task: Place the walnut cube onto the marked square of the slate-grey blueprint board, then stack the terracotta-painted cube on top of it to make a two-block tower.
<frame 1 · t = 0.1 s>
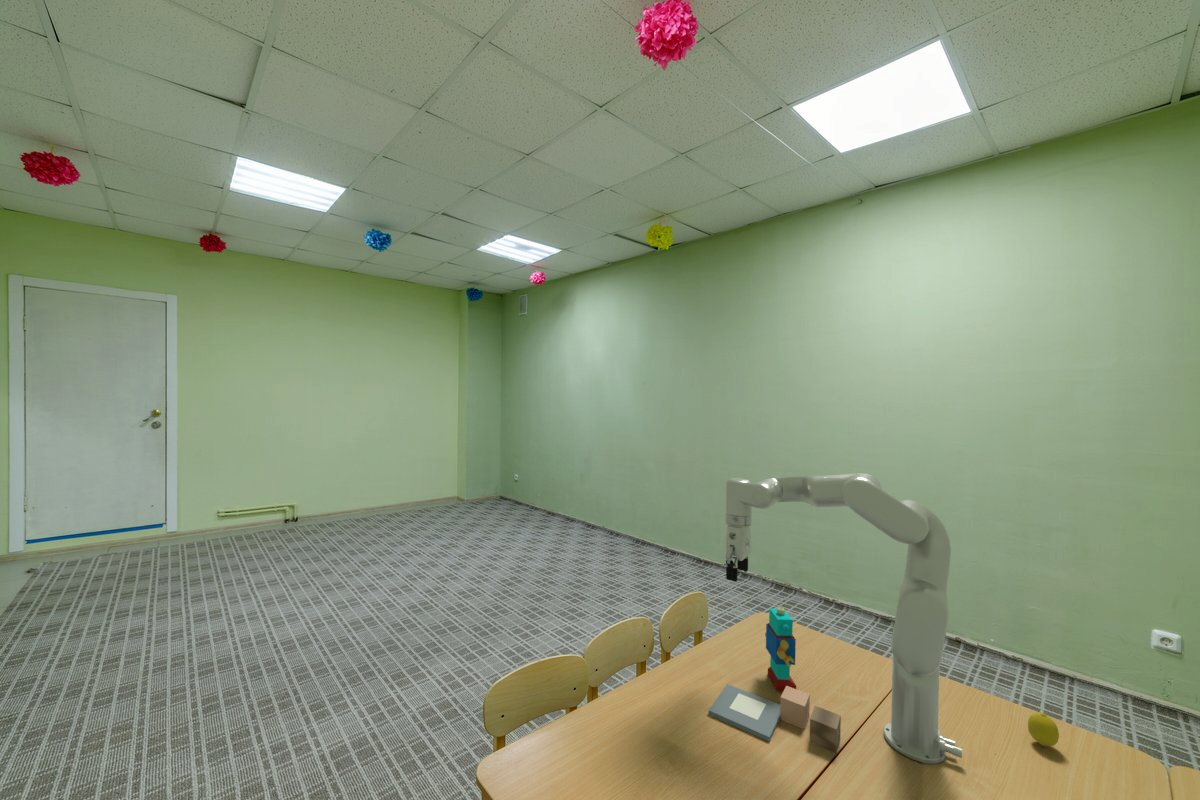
hand: (737, 575, 138), 31 cm above the table, fingers open, 9 cm apart
lemon: (1042, 746, 113), on the table
toy robot: (780, 683, 136), on the table
walnut block: (824, 740, 113), on the table
terracotta block: (794, 717, 121), on the table
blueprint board: (746, 712, 123), on the table
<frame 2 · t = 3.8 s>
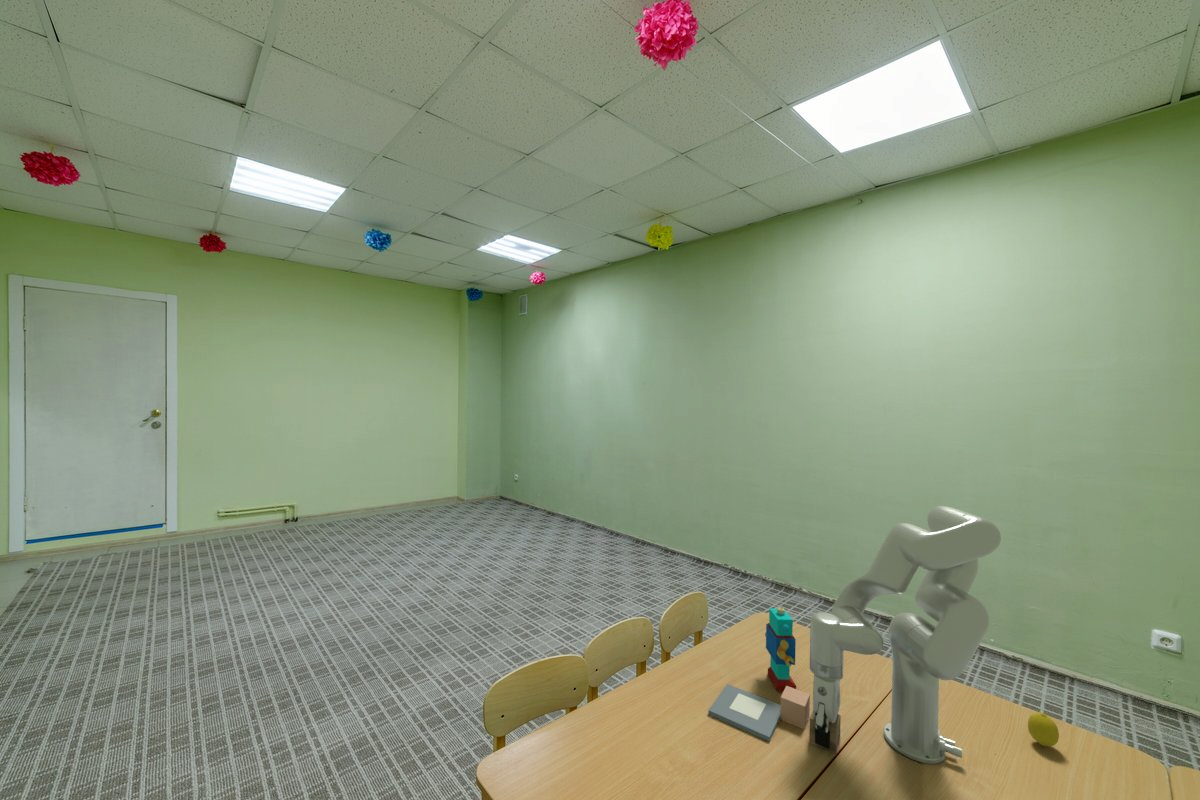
hand: (824, 736, 113), 1 cm above the table, fingers closed on walnut block, 6 cm apart
walnut block: (824, 740, 113), on the table, touching gripper
everything else where it was.
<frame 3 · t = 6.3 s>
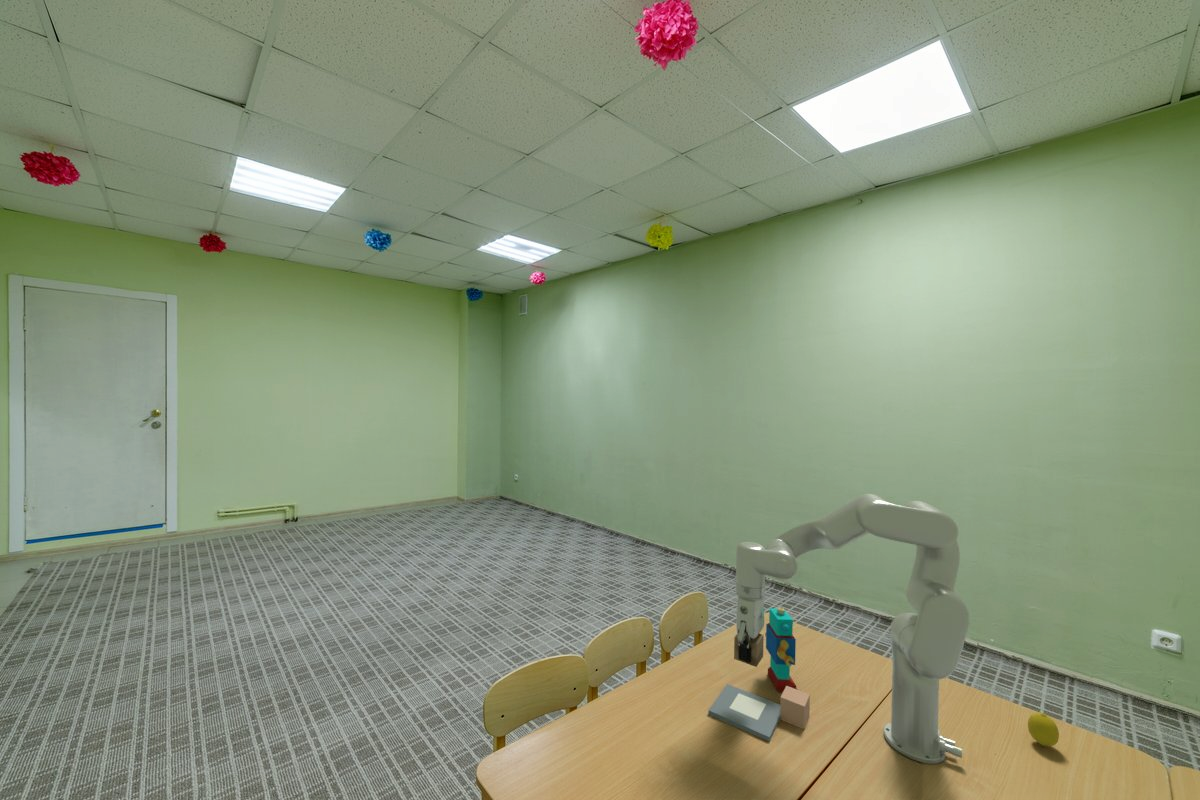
hand: (748, 654, 123), 15 cm above the table, fingers closed on walnut block, 6 cm apart
walnut block: (748, 657, 123), point 15 cm above the table, touching gripper
everything else where it was.
when the fingers open (3 cm above the table, at t = 9.0 s): walnut block stays where it is, resting on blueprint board.
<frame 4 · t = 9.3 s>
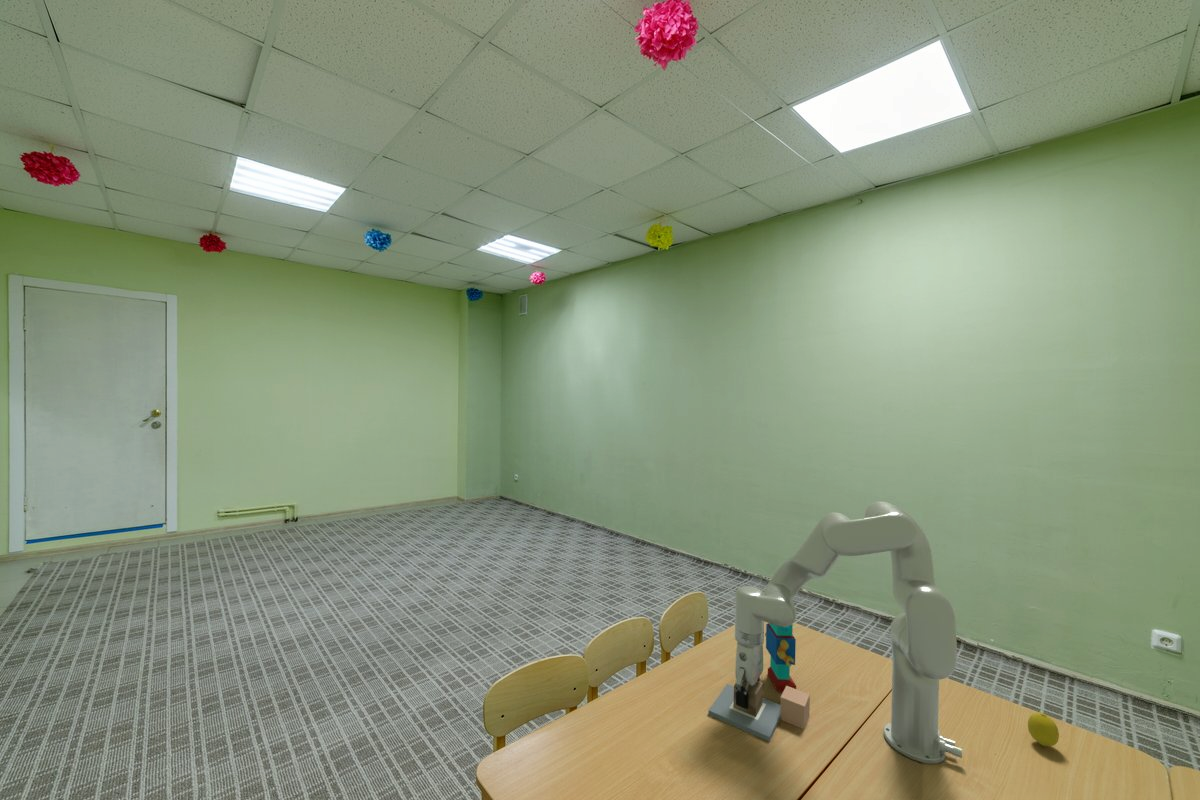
hand: (747, 697, 124), 4 cm above the table, fingers open, 9 cm apart
walnut block: (748, 706, 124), point 1 cm above the table, touching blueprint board
everything else where it was.
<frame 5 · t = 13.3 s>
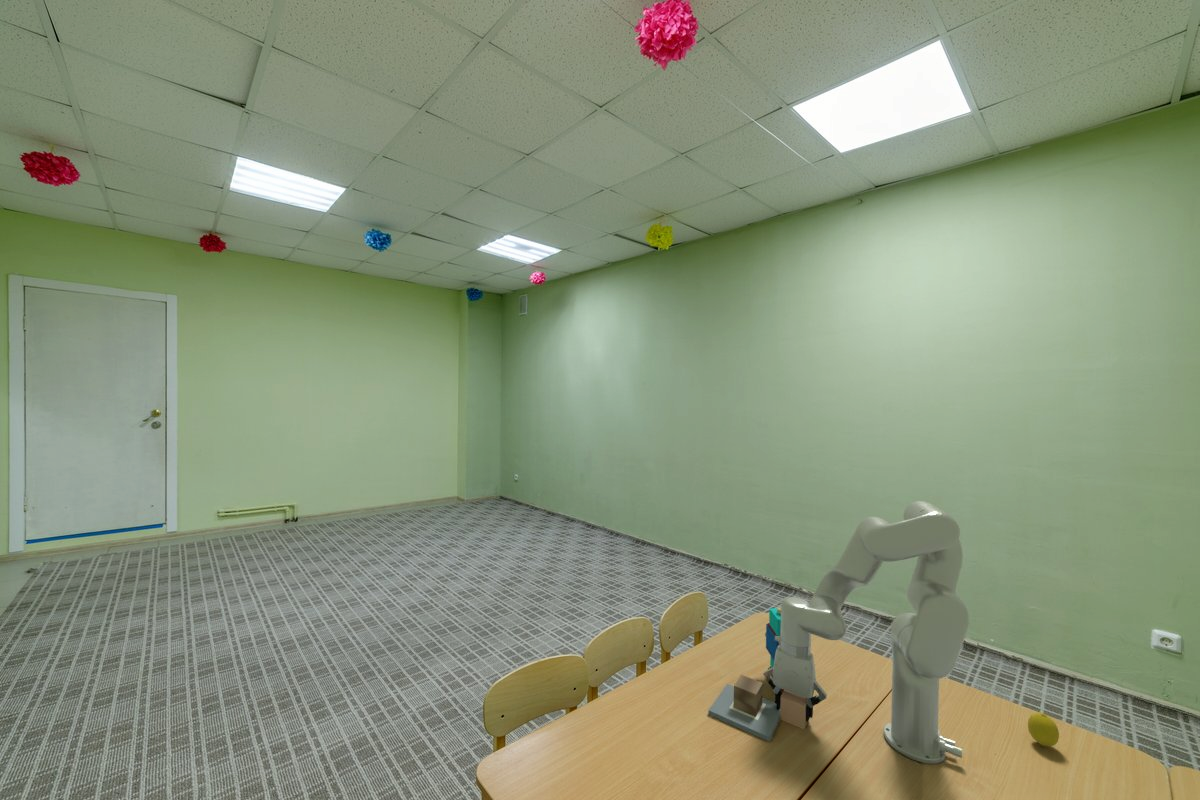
hand: (793, 712, 121), 1 cm above the table, fingers open, 6 cm apart
terracotta block: (794, 717, 121), on the table, touching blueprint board, gripper
everything else where it was.
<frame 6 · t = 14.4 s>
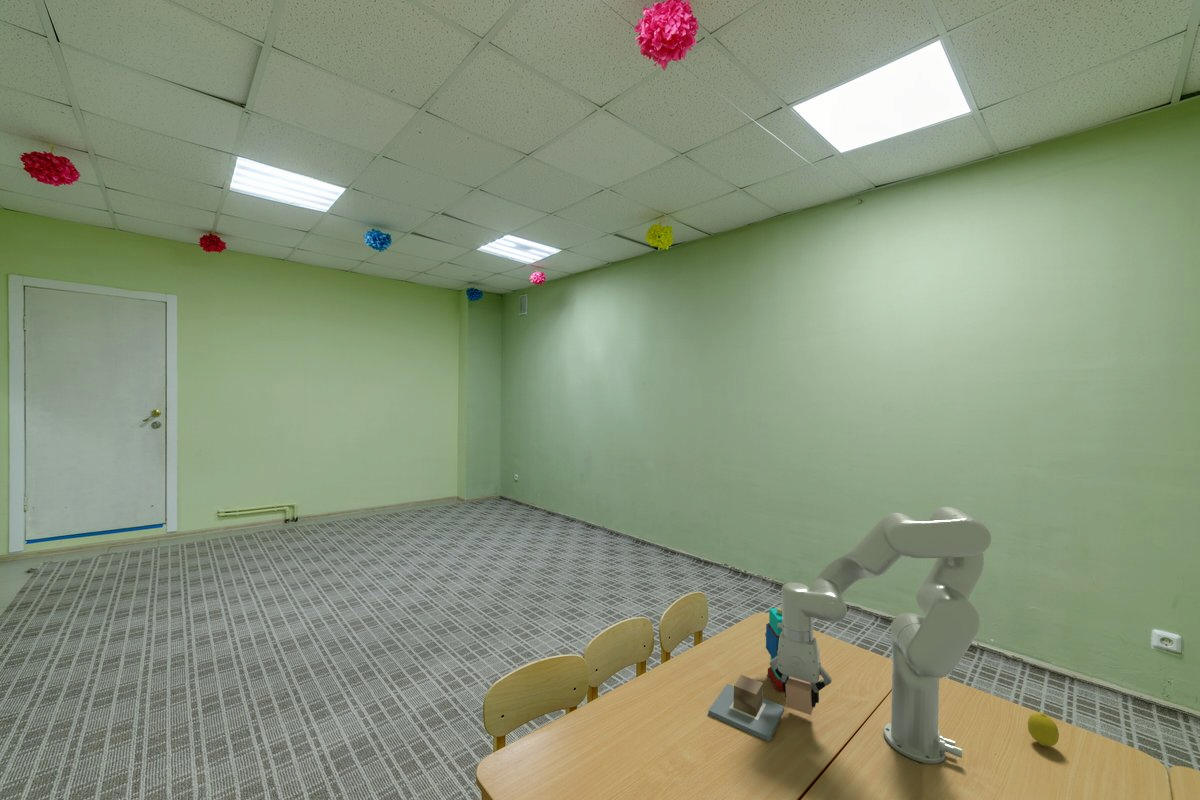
hand: (800, 699, 121), 5 cm above the table, fingers closed on terracotta block, 6 cm apart
terracotta block: (801, 704, 121), point 4 cm above the table, touching gripper
everything else where it was.
when the fingers open (9 cm above the table, at t = 18.9 s): terracotta block stays where it is, resting on walnut block.
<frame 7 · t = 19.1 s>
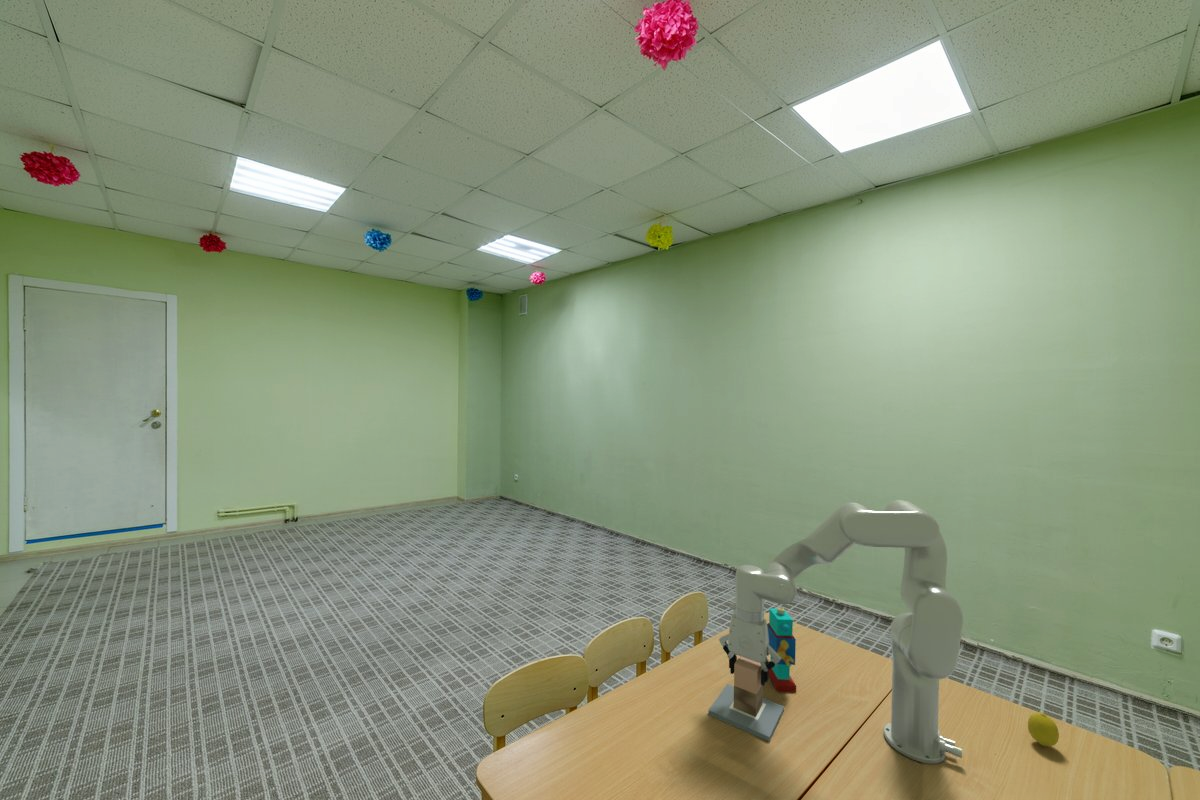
hand: (748, 676, 123), 9 cm above the table, fingers open, 7 cm apart
walnut block: (748, 706, 124), point 1 cm above the table, touching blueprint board, terracotta block
terracotta block: (748, 684, 124), point 7 cm above the table, touching walnut block
everything else where it was.
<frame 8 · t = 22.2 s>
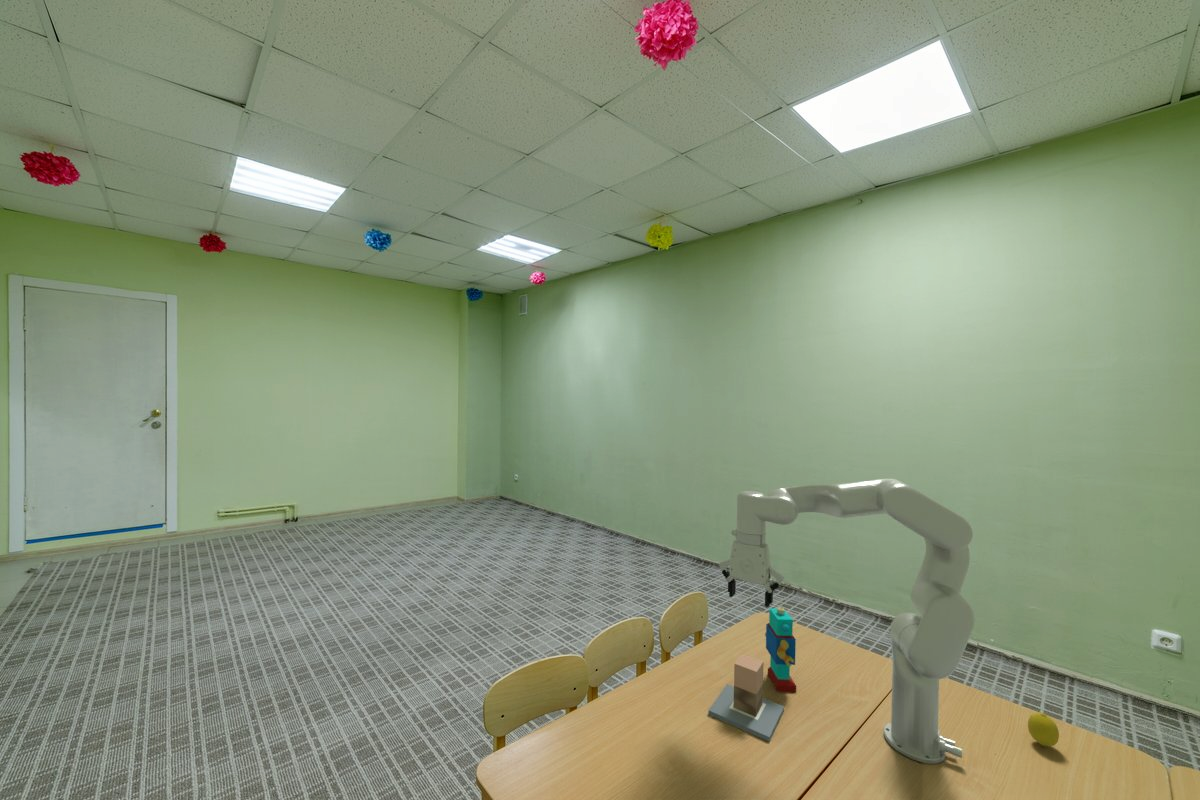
hand: (749, 600, 123), 30 cm above the table, fingers open, 9 cm apart
nothing on the table moved.
at the end: walnut block inside the target area (0.1 cm from its centre), point 1.2 cm above the table; terracotta block 0.1 cm off-centre on the walnut block, point 6.0 cm above the walnut block's base; terracotta block tilted 0° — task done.
